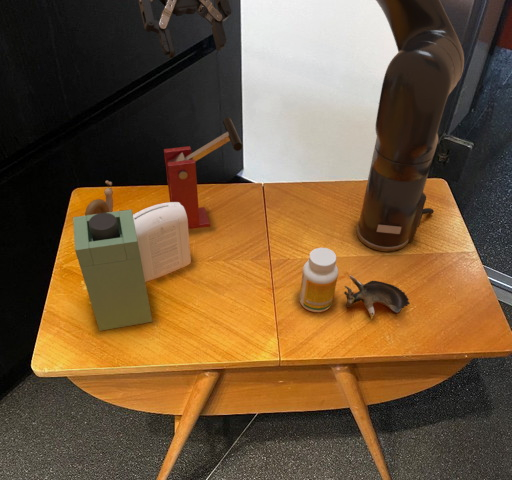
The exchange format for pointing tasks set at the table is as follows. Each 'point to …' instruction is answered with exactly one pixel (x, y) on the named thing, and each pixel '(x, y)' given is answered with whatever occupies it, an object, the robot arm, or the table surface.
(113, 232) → the button
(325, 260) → the supplement bottle
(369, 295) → the toy triceratops
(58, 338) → the table surface
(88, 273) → the box
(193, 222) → the red lever stand
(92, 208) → the snail figurine
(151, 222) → the photo printer
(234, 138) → the wooden lever
